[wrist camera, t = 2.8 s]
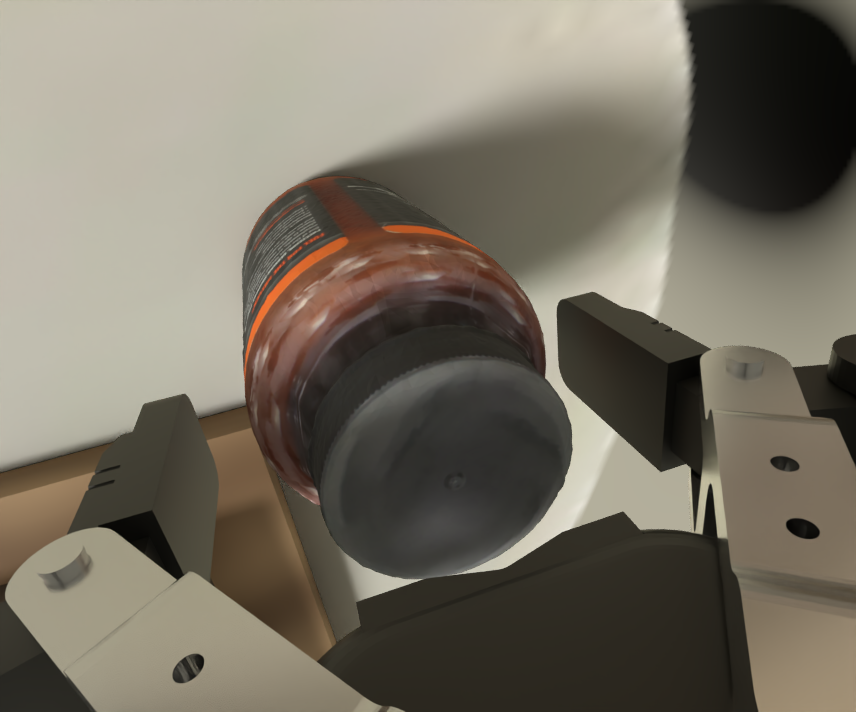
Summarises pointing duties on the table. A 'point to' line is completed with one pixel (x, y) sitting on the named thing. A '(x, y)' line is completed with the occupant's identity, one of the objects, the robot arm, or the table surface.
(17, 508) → the cup holder
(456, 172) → the table surface
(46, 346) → the table surface
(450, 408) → the supplement bottle
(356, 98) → the table surface
